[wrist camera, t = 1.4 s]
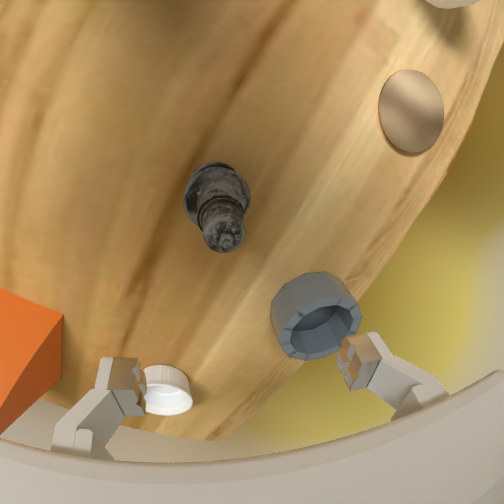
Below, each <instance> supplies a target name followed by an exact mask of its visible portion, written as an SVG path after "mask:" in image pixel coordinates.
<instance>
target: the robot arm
mask: <svg viewBox="0 0 504 504" xmlns="http://www.w3.org/2000/svg"><path fill="white" fill-rule="evenodd" d="M341 346H342V348H341V349H340V350H339V351H338V354H337V365H338V368H339V370H340V372H341V373H343V374H345V378H344V380H345V382H346V384H347V386H348V388H349V390H350V391H353V390H357V389H361V388H365V387H367V388H368V389H369V390H370V391H372V392H373V393H374V394H376V395H377V396H378V397H380V398H381V399H383V400H384V401H385V402H387V403H388V404H389V405H391V406H392V407H393V408H395V409H396V410H397V411H396V412H395V413H394V415H393V416H392V418H391V422H389V423H386V424H383V425H381V426H377V427H375V428H372V429H369V430H366V431H363V432H359V433H357V434H353V435H350V436H346V437H343V438H339V439H336V440H332V441H328V442H324V443H321V444H317V445H312V446H308V447H303V448H299V449H294V450H289V451H284V452H278V453H273V454H267V455H260V456H253V457H246V458H238V459H228V460H218V461H205V462H204V461H203V462H183V463H181V462H180V463H153V462H151V463H150V462H129V461H115V460H114V458H113V457H112V455H111V454H110V453H109V452H108V451H107V450H106V449H105V445H106V444H107V442H108V441H109V439H110V438H111V437H112V435H113V434H114V432H115V431H116V430H117V428H118V427H119V426H120V424H121V423H122V421H123V420H124V418H125V416H145V414H146V401H145V398H144V396H145V395H146V393H147V382H146V376H145V372H144V371H143V370H142V369H141V365H142V363H141V361H140V358H127V357H102V359H101V360H100V365H99V369H98V374H97V378H96V383H95V388H94V389H91V390H90V391H89V392H88V393H87V394H86V395H85V396H84V397H83V398H82V399H81V400H80V401H79V402H78V403H77V404H76V405H75V406H74V407H73V408H72V409H71V410H70V411H69V412H68V413H67V414H66V415H65V416H64V417H63V418H62V419H61V420H60V421H59V422H58V423H57V424H56V427H55V431H54V436H53V441H52V446H51V451H47V450H43V449H39V448H34V447H30V446H26V445H23V444H19V443H15V442H12V441H8V440H5V439H2V438H0V504H504V371H502V370H495V371H493V372H492V373H490V374H488V375H487V376H485V377H483V378H482V379H480V380H478V381H476V382H475V383H473V384H471V385H470V386H467V387H466V388H464V389H462V390H460V391H458V392H456V393H454V394H452V395H449V394H448V392H447V391H446V390H445V388H444V387H443V385H442V384H441V382H440V381H439V379H438V378H437V377H436V376H434V375H432V374H430V373H428V372H426V371H424V370H422V369H421V368H419V367H417V366H415V365H413V364H411V363H409V362H407V361H405V360H403V359H401V358H399V357H398V356H393V355H392V354H391V352H390V351H389V349H388V348H387V346H386V345H385V343H384V342H383V340H382V339H381V338H380V336H379V335H378V333H376V332H375V331H374V332H369V333H365V334H359V335H354V336H349V337H344V338H343V339H342V341H341Z"/></svg>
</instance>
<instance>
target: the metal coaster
mask: <svg viewBox="0 0 504 504" xmlns="http://www.w3.org/2000/svg"><path fill="white" fill-rule="evenodd" d="M378 110H379V119H380V123H381V126H382V128H383V131H384V133H385V135H386V136H387V138H388V139H389V140H390V141H391V143H392V144H394V145H395V146H396V147H398V148H399V149H401V150H404V151H406V152H410V153H418V152H422V151H424V150H426V149H428V148H429V147H431V146H432V145H433V144H434V142H435V141H436V140H437V138H438V137H439V135H440V132H441V130H442V126H443V121H444V106H443V101H442V97H441V94H440V92H439V90H438V88H437V87H436V85H435V84H434V82H433V81H432V80H431V79H430V78H429V77H428V76H426V75H425V74H423V73H421V72H419V71H416V70H402V71H398V72H396V73H394V74H393V75H391V76H390V77H389V78H388V80H387V81H386V82H385V84H384V86H383V88H382V90H381V93H380V97H379V105H378Z"/></svg>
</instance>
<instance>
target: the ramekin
mask: <svg viewBox="0 0 504 504" xmlns="http://www.w3.org/2000/svg"><path fill="white" fill-rule="evenodd" d="M143 371H144V372H145V376H146V382H147V393H146V395H145V396H144V398H145V401H146V411H147V412H149V413H152V414H157V415H166V416H168V415H177V414H181V413H184V412H186V411H187V410H189V409H190V408H191V406H192V404H193V399H192V396H191V394H190V387H189V382H188V379H187V377H186V375H185V374H184V373H183V372H182V371H180V370H178V369H176V368H174V367H171V366H167V365H153V366H149V367H146V368H144V369H143Z"/></svg>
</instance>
